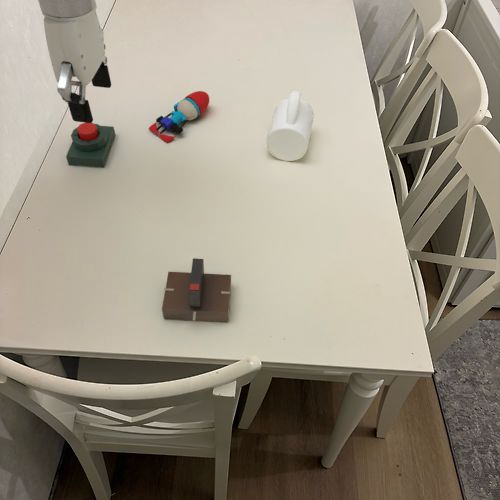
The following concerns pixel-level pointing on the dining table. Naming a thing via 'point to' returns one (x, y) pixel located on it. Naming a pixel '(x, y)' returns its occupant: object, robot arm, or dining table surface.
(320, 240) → the dining table surface
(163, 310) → the knob base block
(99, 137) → the button box
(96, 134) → the button
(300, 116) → the mug
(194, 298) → the bar knob
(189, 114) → the toy figure
